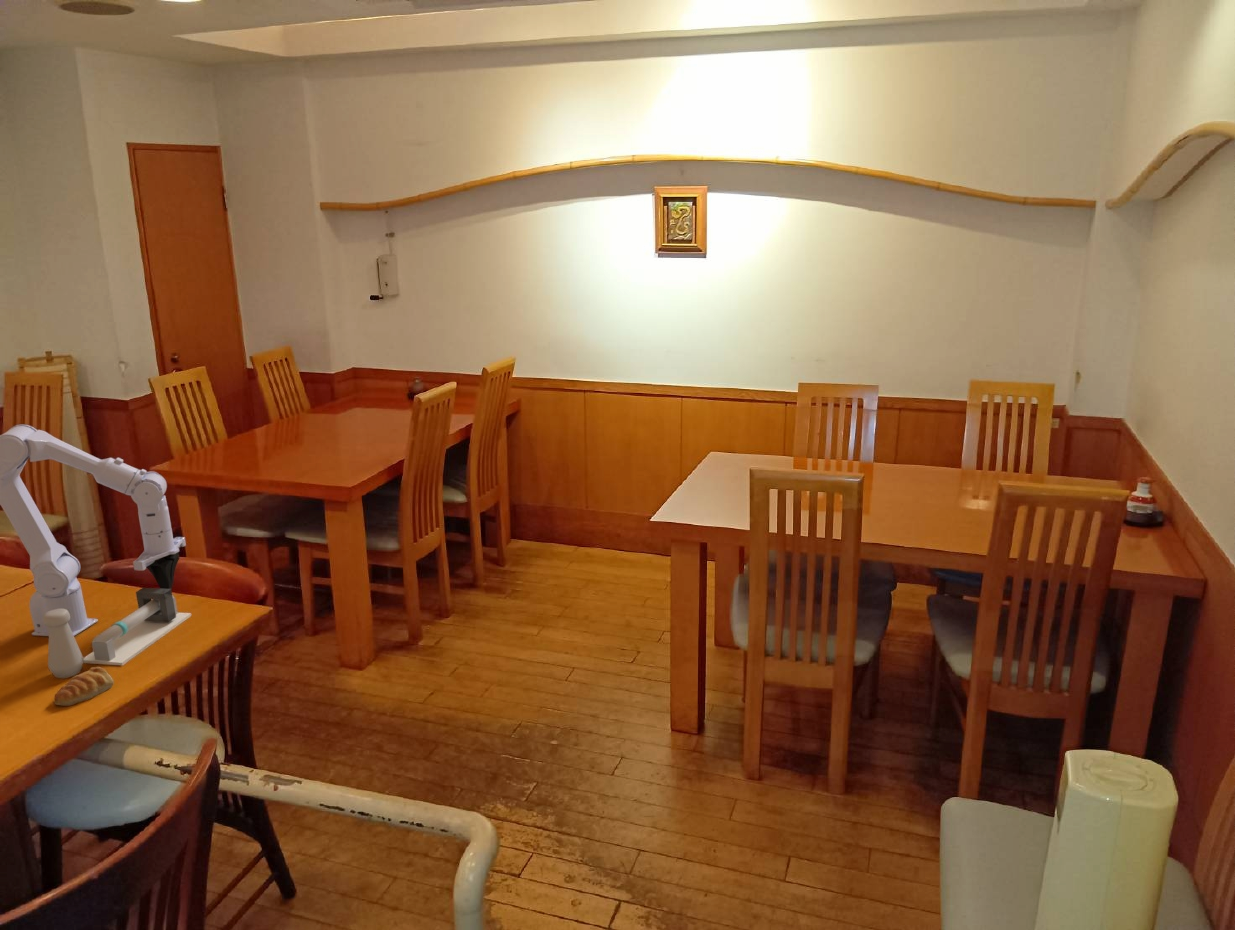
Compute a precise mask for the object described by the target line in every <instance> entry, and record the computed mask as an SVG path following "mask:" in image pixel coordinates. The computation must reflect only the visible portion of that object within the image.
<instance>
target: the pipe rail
mask: <svg viewBox="0 0 1235 930" xmlns="http://www.w3.org/2000/svg"><path fill="white" fill-rule="evenodd" d="M172 596H173V602H174V608H175V613H176V618H174V619H173V620H171V621H170V622H158V621H144V620H145V619H147V618H148V617H150V616H151V615H153V614H154V613H156V612H157V611H159V610H161V607H160V601H159V599H151V601H150V602H148V603H147V604H145V605H144V606H142V607H141V608H139V607H138V608H137V609H136V610H134V611H133V612H132V613H130V614H129V615H127V616H125V617H124V618H122V619H121V620H119V621H116V622H115V623H113V624H111V626H110V627H108V628H107V629H105V630H104V631H102V632H101V633H98V635H96V636H94V638H93V641H91V645H92V651H91V652H90V653H89V654H87V655H86V656H83V659H84V661H83V664H94V665H95V664H96V665H97V664H98V665H109V666H110V665H111V666H124V665H126V664H127V663H128V662H130V661H131V660H133V659H134V658H135V657H137V656H138V655H139V654H141V653H142V652H144V651H145V650H146V649H147V648H149V647H150V646H152V645H153V644H155V643H156V642H157V641H158V640H160V639H161V638H162V637H164V636H166V635H167V634H168V633H169V632H171V631H173V630H174V629H175V628H177V627H178V626H180V625H181V624H182V623H184V622H185V621H186V620H187V619H190V618H191V616H192V613H191V612H178V607H177V600H176V597H175V596H174V595H173V594H172Z"/></svg>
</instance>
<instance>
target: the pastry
mask: <svg viewBox="0 0 1235 930" xmlns="http://www.w3.org/2000/svg"><path fill="white" fill-rule="evenodd" d="M113 685H114V679H113V678H112V676H111V675H110V674H109V673H108V672H107V670H106V669H105V668H103V667H100V666H96V667H90V668H89V669H88V670H87V671H84V672H81V673H78V674H76V675H75V676H72V677H70V680H69V681H68V682H66V683H65V685H63V686H61V687H60V689H59V690H57V692H56V693H55V694H54V696H53V697H54V705H57V706H64V707H65V706H66V707H67V706H74V705H75V704H77V703H82V702H84V701H88V700H91V699H92V698H94V697H96V696H98V695H100V694H103V693H104V692H106V691H108V690H109V689H111V688H112V687H113ZM99 693H100V694H99Z"/></svg>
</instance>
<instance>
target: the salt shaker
mask: <svg viewBox="0 0 1235 930" xmlns="http://www.w3.org/2000/svg"><path fill="white" fill-rule="evenodd" d="M69 620H70V614H69V612H68V610H66V609H54V610H51V611H49V612H47V613H46V614H45V615H44V616H43V621H44V624H45V626H47V627H49V636H48V652H47V655H48V656H47V667H48V670H49V671H50V672H51V673H52V675H53V676H54V677H56V678H57V679H63V680H64V679H67V678H72V677H74V676H76V675H79V674H80V672H82V667H83V664H84V663H83V661H84V659H83V658H84V656H83V654H82V652H81V649H80V647H79V645H78V643H77V640H76V638H75V636H73V633H72V631H71V629H70V626H69V624H68V622H69Z"/></svg>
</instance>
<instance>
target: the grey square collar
mask: <svg viewBox="0 0 1235 930" xmlns="http://www.w3.org/2000/svg"><path fill="white" fill-rule="evenodd" d="M135 595H136V596H135V597H136V601H137V607H138V609H139V608H141V607H142V606H144V605H145V604H147V603H148V602H150V601H151V600H153V599H159V601H160V607H161V610H159V611H157V612H156V613H154V614H153V615H151V616H150V617H148V618H147V619H145V620H144V621H158V622H170V621H171V620H173V619H174V618H176V613H175V608H174V602H173V597H174V595H173V590H172V588H171V589H162V588H160V587H158V588H157V587H141V588H140V589H139V590H137V591H135ZM172 595H173V596H172Z"/></svg>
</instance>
